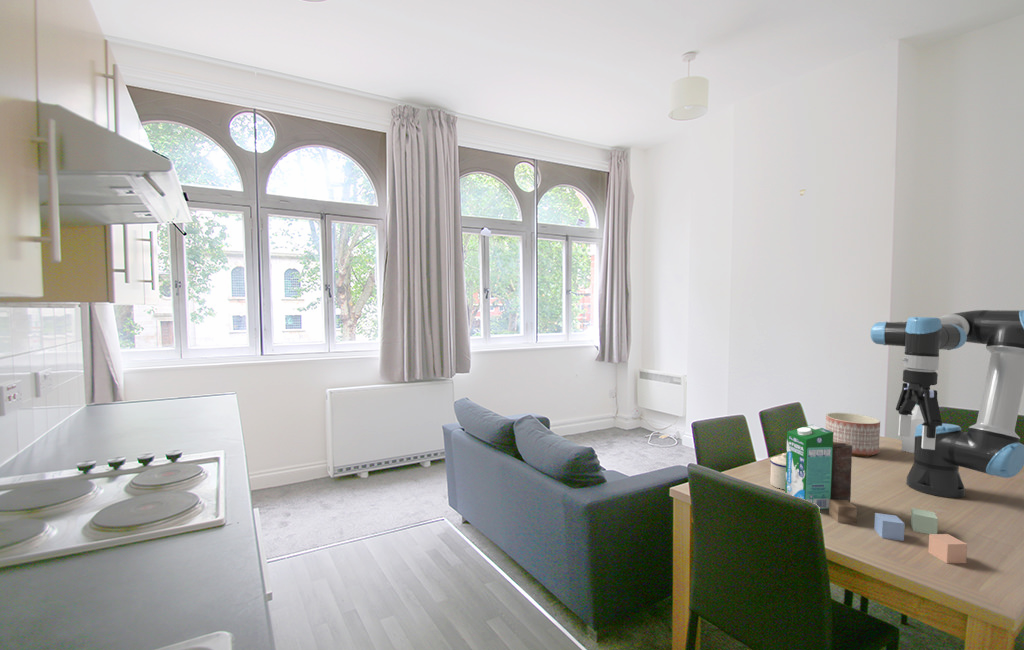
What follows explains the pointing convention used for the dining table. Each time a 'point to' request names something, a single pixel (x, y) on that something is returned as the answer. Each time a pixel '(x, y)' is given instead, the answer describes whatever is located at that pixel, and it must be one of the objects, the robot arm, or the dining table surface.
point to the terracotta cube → (947, 548)
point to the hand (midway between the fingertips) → (915, 442)
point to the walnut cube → (842, 511)
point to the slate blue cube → (889, 526)
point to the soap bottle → (912, 430)
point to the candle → (841, 471)
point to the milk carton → (809, 464)
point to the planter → (855, 432)
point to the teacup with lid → (778, 471)
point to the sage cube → (924, 521)
